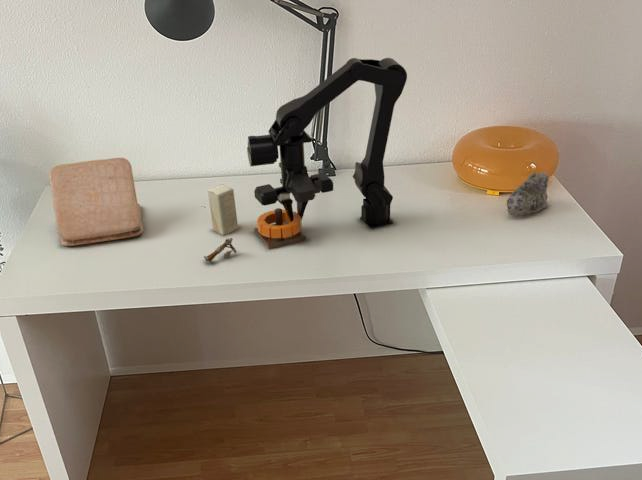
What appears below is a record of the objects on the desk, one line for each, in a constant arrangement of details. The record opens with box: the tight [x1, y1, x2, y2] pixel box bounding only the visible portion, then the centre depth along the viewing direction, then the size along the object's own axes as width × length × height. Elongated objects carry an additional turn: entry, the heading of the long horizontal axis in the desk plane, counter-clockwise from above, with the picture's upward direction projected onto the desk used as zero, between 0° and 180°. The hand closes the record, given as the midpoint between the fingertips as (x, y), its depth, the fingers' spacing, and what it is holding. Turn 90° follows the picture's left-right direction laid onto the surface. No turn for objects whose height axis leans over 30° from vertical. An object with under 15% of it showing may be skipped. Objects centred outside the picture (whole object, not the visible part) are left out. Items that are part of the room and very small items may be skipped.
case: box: [48, 157, 144, 247], centre depth 193 cm, size 20×21×16 cm
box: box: [207, 184, 239, 236], centre depth 190 cm, size 5×4×11 cm
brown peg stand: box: [253, 207, 307, 250], centre depth 187 cm, size 10×10×7 cm
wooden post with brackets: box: [203, 237, 238, 265], centre depth 180 cm, size 2×8×4 cm, turn 124°
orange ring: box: [256, 209, 303, 238], centre depth 188 cm, size 11×11×3 cm
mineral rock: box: [506, 171, 549, 216], centre depth 194 cm, size 13×11×10 cm
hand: (295, 221), depth 189 cm, fingers closed on orange ring, 2 cm apart
